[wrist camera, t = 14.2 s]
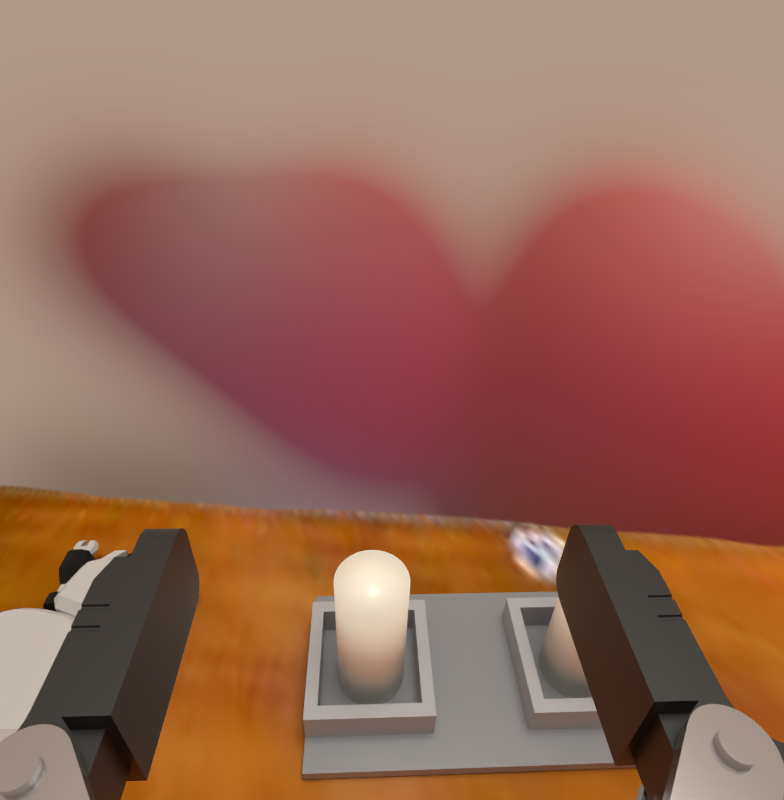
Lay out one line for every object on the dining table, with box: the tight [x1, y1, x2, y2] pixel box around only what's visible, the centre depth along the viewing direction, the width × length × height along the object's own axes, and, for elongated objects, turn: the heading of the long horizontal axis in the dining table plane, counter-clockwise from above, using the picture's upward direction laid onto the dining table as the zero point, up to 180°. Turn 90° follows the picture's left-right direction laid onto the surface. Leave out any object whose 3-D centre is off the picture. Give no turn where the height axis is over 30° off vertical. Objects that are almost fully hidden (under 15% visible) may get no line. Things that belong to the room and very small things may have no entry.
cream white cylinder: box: [334, 550, 410, 704], centre depth 34 cm, size 4×4×10 cm
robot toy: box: [0, 540, 132, 742], centre depth 37 cm, size 12×4×15 cm
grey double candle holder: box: [302, 592, 637, 780], centre depth 35 cm, size 22×12×11 cm, turn 92°
